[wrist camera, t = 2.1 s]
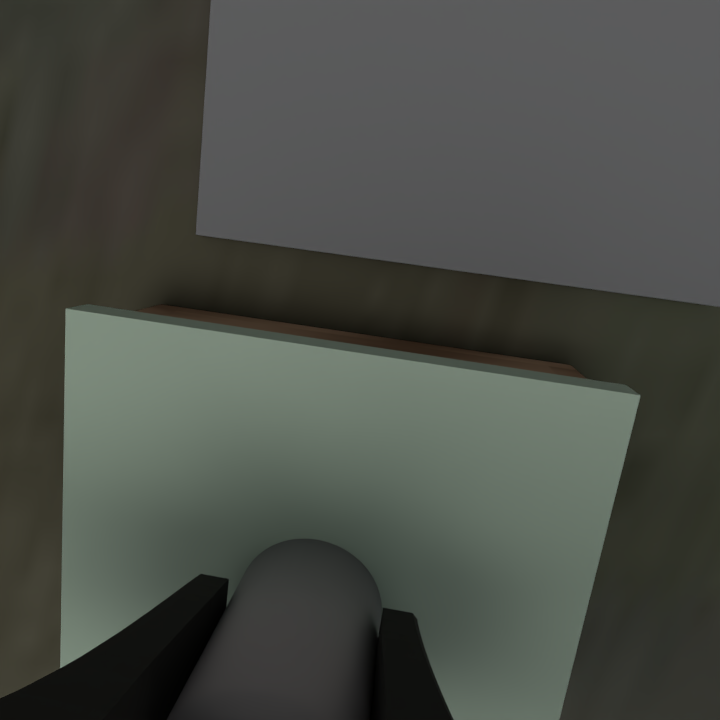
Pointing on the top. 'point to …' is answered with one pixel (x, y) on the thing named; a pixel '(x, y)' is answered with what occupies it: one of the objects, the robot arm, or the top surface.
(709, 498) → the top surface
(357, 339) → the walnut box
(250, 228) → the slate mat
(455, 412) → the lid
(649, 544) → the top surface
